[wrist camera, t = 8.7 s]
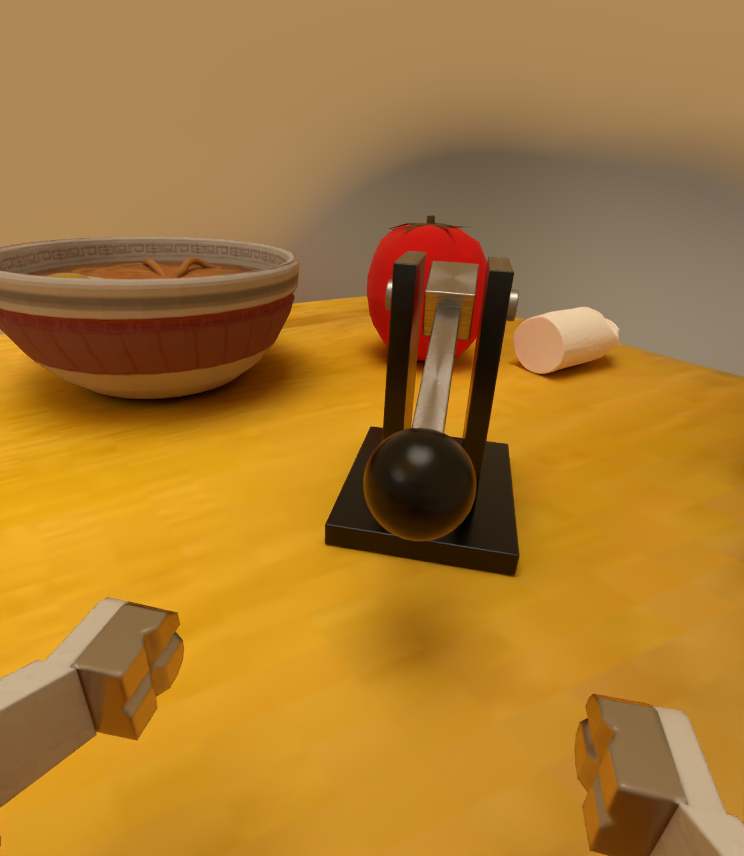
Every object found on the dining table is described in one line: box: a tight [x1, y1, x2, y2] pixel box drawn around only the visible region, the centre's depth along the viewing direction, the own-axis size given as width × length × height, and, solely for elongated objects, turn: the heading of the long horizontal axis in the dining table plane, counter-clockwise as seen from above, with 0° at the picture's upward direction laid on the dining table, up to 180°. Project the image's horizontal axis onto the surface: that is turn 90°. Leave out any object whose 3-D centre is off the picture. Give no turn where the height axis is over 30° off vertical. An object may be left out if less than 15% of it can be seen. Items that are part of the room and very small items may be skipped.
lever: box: [363, 261, 479, 541], centre depth 20 cm, size 14×4×4 cm, turn 168°
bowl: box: [0, 237, 299, 399], centre depth 41 cm, size 23×23×10 cm
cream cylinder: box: [513, 307, 619, 374], centre depth 50 cm, size 6×12×6 cm, turn 124°
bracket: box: [325, 251, 519, 575], centre depth 26 cm, size 11×9×13 cm
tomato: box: [367, 216, 487, 361], centre depth 48 cm, size 12×12×13 cm
